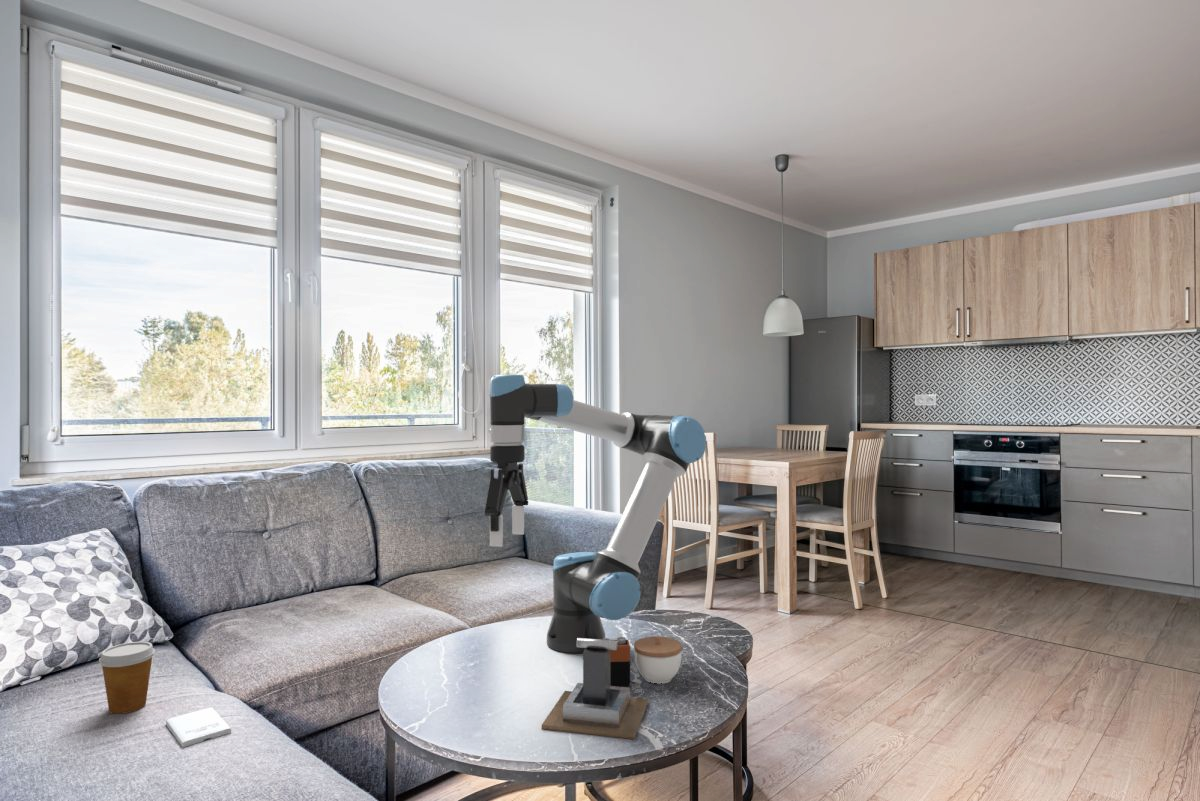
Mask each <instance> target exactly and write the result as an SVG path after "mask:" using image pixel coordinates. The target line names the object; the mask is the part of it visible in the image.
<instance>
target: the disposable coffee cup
mask: <svg viewBox="0 0 1200 801" xmlns="http://www.w3.org/2000/svg"><path fill="white" fill-rule="evenodd" d="M153 647H154V646H153V643H151V642H149V641H132V642H131V641H130V642H125V643H120V644H117V645H113V646H110V647H108V648H106V649H104V650H103V651H102V652H101V656H100V657H99V659H98V662H99V663H100V666H101V668H102V674H103V680H104V687H105V694H106V699H107V707H108V712H109V713H110V714H114V715H118V714H119V715H120V714H128V713H131V712H135V711H138V710H140V709H142V708H143V707H146V706H145V705H147V698H148V697H147V696H148V691H149V690H148V688H149V683H150V675H151V668H152V661H153V656H154V654H155V653H156V649H155V648H153Z"/></svg>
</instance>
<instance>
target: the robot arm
mask: <svg viewBox="0 0 1200 801" xmlns="http://www.w3.org/2000/svg"><path fill="white" fill-rule="evenodd" d="M489 387H490V388H489V401H490V404H489V407H490V409H489V410H490V422H489V423H490V428H489V430H488V433H489V434H490V443H492V445H491V446H489V447H490V452H489V456H490V457H489V458H490V459H489V460H490V461H491V463H495V464H497V467H496V468H493V467H492V468H491V469H490V479H489V486H488V490H487V498H486V501H485V502H486V503H485V507H484V508H485V509H484V516H486V517H489V547H496V548H497V547H500V548H503V547H504V521H503V520H504V516H503V515H502V511H503V508H504V504H505V500H506V496H507V493H508V491H509V493H510V494H509V495H510V497H511V500H512V503H513V505H511V506H512V507H511V524H512V525H511V533H512V534H511V535H518V536H519V535H521V536H522V535H525V506H528V505H529V498H528V490H527V487H526V480H525V476H524V475H525V474H524V464H523V463H522V462H524V461H525V455H526V454H525V446H524V445H523V444H524V443H525V441H526V439H525V438H526V437H525V436H526V435H525V433H526V430H525V429H526V428H525V421H526V420H525V418H527V419H530V420H533V421H537V422H538V421H539V422H542V423H546V424H549V425H552V426H553V425H554V426H556V427H559V428H564V429H567V430H570V431H574V432H578V433H581V434H586V435H588V436H593V437H597V438H600V439H602V440H607V441H610V442H612V443H613V444H614V445H615V447H618V448H621V449H625V450H628V451H631V452H633V453H636V454H639V455H642V456H643V458H644V461H645V465H644V467H643V469H642V471H641V474H640V475H639V477H638V480H637V482H636V484H635V486H634V489H633V491H632V492H631V495H630V497H629V499H628V501H627V503H626V505H625V508H624V510H623V512H622V514H621V516H620V518H619V520H618V523H617V525H616V527H615V529H614V531H613V533H612V535H611V537H610V539H609V542H608V544H607V547H606V548H604V549H602V550H599V551H598V552H595V551H594V552H593V551H581V552H570V553H569V552H568V553H563V554H558V555H556V557H554V559H553V567H552V572H553V573H552V574H553V575H552V576H553V577H552V578H553V598H552V599H553V612H552V617H551V621H550V623H549V626H548V627H549V628H548V630H547V634H546V645H547V646H548V648H550V649H551V650H554V651H557V652H561V653H569V654H577V653H579V654H580V653H581V654H583V651H584V650H585V648H581V647H577V646H576V642H577V638H588V639H601V640H603V639H604V638H606V632H605V628H604V626H603V622H602V619H606V620H609V621H619V620H621V619H624V618H626V617H629V615H630V614H632V612H633V611H634V610H635V608H636V607H637V605H638V604H639V602H640V598H641V590H640V589H641V585H640V582H639V577H640V576H641V569H640V566H639V562H640V560H641V558H642V555H643V554H644V551H645V549H646V547H647V544H648V542H649V540H650V537H651V536H652V533H653V531H654V529H655V527H656V524H657V522H658V520H659V517H660V515H661V514H662V511H663V508H664V506H665V504H666V502H667V499H668V497H669V496H670V493H671V491H672V489H673V487H674V484H675V482H676V479H677V478H679V477H681V476H684V475H685V474H686V473H687V469H688V468H689V465H690V464H692V463H693V464H694V463H695V462H696V463H697V461H700V460H701V459H702V457H704V454H705V452H706V448H707V436H706V434H705V430H704V427H703V425H702V424H701V423H700V422H699V421H698V419H695V418H694V417H692V416H686V415H682V414H678V415H658V414H653V415H652V414H651V415H650V414H649V415H648V414H636V413H630V412H627V411H624V412H621V413H618V412H614V411H611V410H607V409H604V408H601V407H597V406H596V405H591V404H588V403H585V402H582V401H578V400H575V399H574V395H573V391H572V389H571V388H570V386H568V385H566V384H559V383H526V381H525V377H524V375H522V374H495V375H493V376H492V377H491V379H490V386H489Z"/></svg>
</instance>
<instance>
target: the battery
mask: <svg viewBox="0 0 1200 801" xmlns="http://www.w3.org/2000/svg"><path fill="white" fill-rule="evenodd" d="M603 640H611V639H610V638H608V637H605V638H604V639H603ZM612 640H613V641H617V643H618V646H617V650H610V669H611V686H617V687H628V688H630V686H631V645H630V641H629V639H627V638H626V637H624V636H619V637H616V639H612Z"/></svg>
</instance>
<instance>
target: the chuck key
mask: <svg viewBox="0 0 1200 801" xmlns="http://www.w3.org/2000/svg"><path fill="white" fill-rule="evenodd" d="M613 640H614V639H610V640H601V639H588V638H577V642H576V646H577V647H581V648H585V650H584V651H583V652H582V658H583V659H582V666H583V667H582V673H583V674H582V677H583V678H582V681H583V682H582V683H583V704H590V705H600V706H610V705H611V669H610V650H617V646H618V643H617V641H613Z"/></svg>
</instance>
